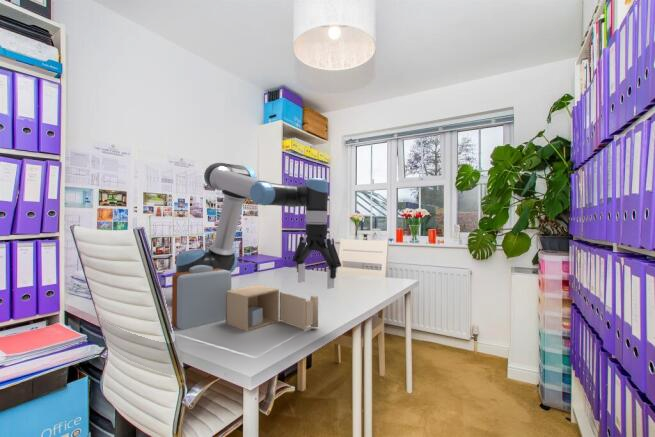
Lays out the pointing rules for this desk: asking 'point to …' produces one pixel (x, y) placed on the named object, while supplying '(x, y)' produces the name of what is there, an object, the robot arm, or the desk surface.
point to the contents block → (255, 315)
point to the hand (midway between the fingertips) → (315, 285)
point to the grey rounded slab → (199, 296)
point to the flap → (299, 310)
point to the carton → (251, 297)
